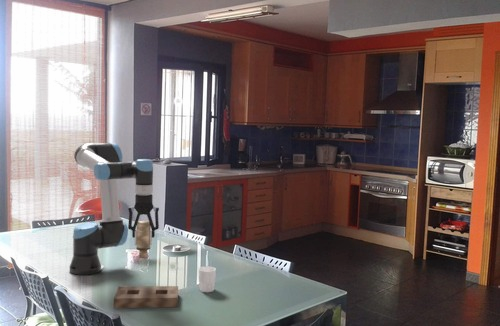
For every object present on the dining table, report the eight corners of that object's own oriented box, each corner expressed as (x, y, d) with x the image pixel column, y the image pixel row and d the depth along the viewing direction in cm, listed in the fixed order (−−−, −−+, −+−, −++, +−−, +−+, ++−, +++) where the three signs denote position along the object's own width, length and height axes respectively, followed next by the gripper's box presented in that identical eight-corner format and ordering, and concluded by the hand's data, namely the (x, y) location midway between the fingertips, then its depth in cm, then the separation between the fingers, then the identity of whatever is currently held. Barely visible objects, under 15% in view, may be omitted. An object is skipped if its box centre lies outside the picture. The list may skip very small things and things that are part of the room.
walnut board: (113, 307, 205) (113, 298, 204) (118, 295, 218) (118, 286, 218) (177, 307, 208) (177, 297, 207) (178, 294, 222) (178, 286, 221)
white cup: (198, 286, 233) (198, 266, 232) (215, 286, 233) (215, 266, 232) (197, 292, 225) (198, 271, 224) (215, 293, 226) (216, 271, 225)
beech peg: (135, 259, 221) (136, 223, 220) (137, 255, 227) (137, 221, 226) (149, 259, 222) (150, 223, 220) (150, 255, 228) (151, 221, 226)
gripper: (121, 194, 217) (120, 246, 219) (165, 195, 219) (164, 246, 222) (123, 192, 224) (123, 242, 227) (165, 192, 227) (165, 242, 229)
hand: (143, 244), depth 224 cm, fingers closed on beech peg, 6 cm apart
